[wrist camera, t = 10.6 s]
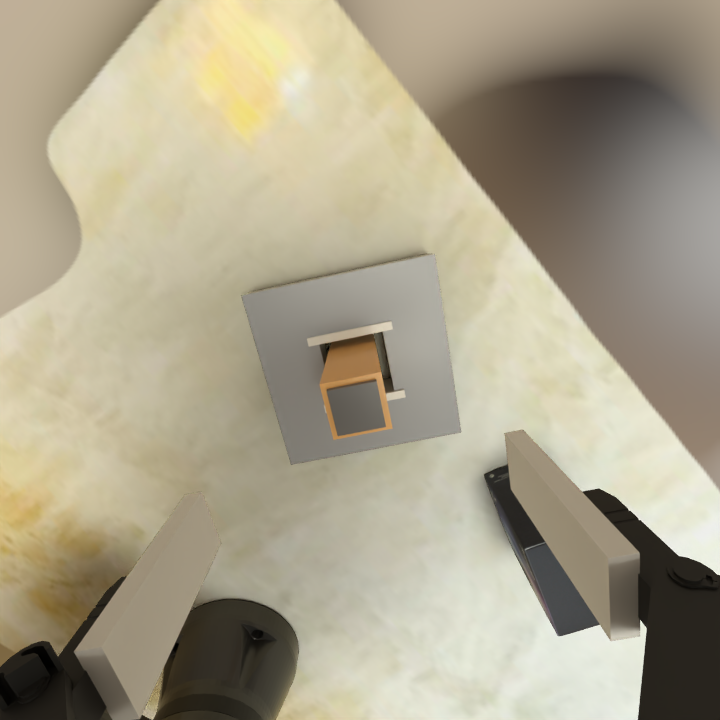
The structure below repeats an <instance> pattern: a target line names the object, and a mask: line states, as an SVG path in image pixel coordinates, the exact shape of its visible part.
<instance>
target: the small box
mask: <svg viewBox="0 0 720 720" xmlns="http://www.w3.org/2000/svg"><path fill="white" fill-rule="evenodd" d="M485 479H486V482H487V485H488V487H489V490H490V493H491V496H492V498H493V501H494V504H495V506H496V509H497V511H498V514H499V517H500V519H501V522H502V524H503V527H504V529H505V532H506V534H507V537H508V539H509V542H510V544H511V546H512V549H513V551H514V553H515V555H516V557H517V559H518V561H519V563H520V565H521V567H522V569H523V571H524V573H525V575H526V577H527V579H528V581H529V583H530V585H531V587H532V589H533V591H534V592H535V594H536V596H537V598H538V600H539V602H540V604H541V606H542V608H543V610H544V611H545V613H546V615H547V617H548V619H549V621H550V622H551V624H552V626H553V628H554V629H555V631H556V633H557V635H558V636H563V635H567V634H570V633H573V632H577V631H580V630H584V629H586V628H590V627H593V626H596V625H600V624H599V622H598V621H597V619H596V618H595V616H594V615H593V613H592V612H591V610H590V609H589V607H588V606H587V604H586V603H585V601H584V600H583V598H582V597H581V595H580V594H579V592H578V590H577V589H576V587H575V586H574V584H573V583H572V581H571V580H570V578H569V577H568V575H567V574H566V572H565V571H564V569H563V568H562V566H561V565H560V563H559V562H558V560H557V559H556V557H555V556H554V554H553V553H552V551H551V549H550V548H549V546H548V545H547V543H546V542H545V540H544V539H543V537H542V536H541V534H540V533H539V531H538V530H537V528H536V527H535V525H534V524H533V522H532V521H531V519H530V518H529V516H528V515H527V513H526V511H525V510H524V508H523V507H522V505H521V504H520V502H519V501H518V499H517V498H516V496H515V495H514V493H513V492H512V490H511V486H510V477H509V468H508V466H506V467H503V468H499V469H497V470H495V471H492V472H490V473H487V474H485Z"/></svg>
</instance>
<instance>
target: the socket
mask: <svg viewBox="0 0 720 720" xmlns="http://www.w3.org/2000/svg"><path fill="white" fill-rule="evenodd" d="M241 296H242V300H243V303H244V307H245V310H246V313H247V317H248V320H249V323H250V327H251V330H252V334H253V337H254V340H255V344H256V347H257V351H258V354H259V357H260V361H261V364H262V368H263V371H264V374H265V378H266V381H267V385H268V388H269V391H270V395H271V398H272V401H273V405H274V408H275V412H276V415H277V418H278V422H279V425H280V429H281V432H282V435H283V439H284V442H285V446H286V449H287V452H288V456H289V459H290V462H291V465H293V464H298V463H303V462H309V461H314V460H319V459H324V458H329V457H335V456H340V455H345V454H350V453H356V452H361V451H366V450H371V449H377V448H382V447H387V446H392V445H398V444H403V443H408V442H413V441H418V440H424V439H429V438H434V437H439V436H445V435H450V434H455V433H460V432H461V427H460V420H459V414H458V407H457V400H456V393H455V386H454V379H453V373H452V366H451V359H450V352H449V345H448V339H447V332H446V325H445V318H444V311H443V305H442V298H441V291H440V284H439V277H438V271H437V264H436V257H435V254H423V255H419V256H414V257H410V258H405V259H400V260H396V261H391V262H386V263H382V264H377V265H372V266H368V267H363V268H358V269H354V270H349V271H344V272H340V273H335V274H331V275H326V276H321V277H317V278H312V279H307V280H303V281H298V282H293V283H289V284H284V285H279V286H275V287H270V288H266V289H261V290H256V291H252V292H249V293H247V294H244V295H241ZM378 332H382V335H383V340H384V345H385V351H386V356H387V361H388V366H389V371H390V376H391V378H388V379H383V383H384V388H385V393H386V398H387V403H388V408H389V413H390V418H391V423H392V427H393V429H388V430H382V431H377V432H372V433H367V434H362V435H357V436H351V437H346V438H341V439H336V440H333V436H332V432H331V428H330V424H329V420H328V416H327V412H326V409H325V405H324V401H323V397H322V393H321V389H320V385H319V384H320V380H321V377H322V373H323V370H324V366H325V363H326V359H327V356H328V355H327V351H326V347H325V343H329V342H334V341H339V340H344V339H349V338H354V337H358V336H363V335H368V334H373V333H378Z"/></svg>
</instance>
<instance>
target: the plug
mask: <svg viewBox="0 0 720 720" xmlns="http://www.w3.org/2000/svg"><path fill="white" fill-rule="evenodd" d="M319 385H320V389H321V393H322V397H323V401H324V405H325V409H326V412H327V416H328V420H329V424H330V428H331V432H332V436H333V440H336V439H341V438H346V437H351V436H357V435H362V434H367V433H372V432H377V431H382V430H388V429H393V427H392V423H391V418H390V413H389V408H388V403H387V398H386V393H385V388H384V383H383V378H382V373H381V368H380V363H379V359H378V354H377V349H376V344H375V339H374V334H368V335H363V336H358V337H354V338H349V339H344V340H339V341H334V342H331V345H330V348H329V352H328V356H327V359H326V363H325V366H324V370H323V373H322V377H321V380H320V384H319Z"/></svg>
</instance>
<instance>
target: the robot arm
mask: <svg viewBox="0 0 720 720" xmlns="http://www.w3.org/2000/svg"><path fill="white" fill-rule="evenodd" d="M505 442H506V451H507V460H508V468H509V477H510V486H511V490H512V492H513V493H514V495H515V496H516V498H517V499H518V501H519V502H520V504H521V505H522V507H523V508H524V510H525V511H526V513H527V515H528V516H529V518H530V519H531V521H532V522H533V524H534V525H535V527H536V528H537V530H538V531H539V533H540V534H541V536H542V537H543V539H544V540H545V542H546V543H547V545H548V546H549V548H550V549H551V551H552V553H553V554H554V556H555V557H556V559H557V560H558V562H559V563H560V565H561V566H562V568H563V569H564V571H565V572H566V574H567V575H568V577H569V578H570V580H571V581H572V583H573V584H574V586H575V587H576V589H577V590H578V592H579V594H580V595H581V597H582V598H583V600H584V601H585V603H586V604H587V606H588V607H589V609H590V610H591V612H592V613H593V615H594V616H595V618H596V619H597V621H598V622H599V624H600V625H601V627H602V628H603V630H604V632H605V633H606V635H607V636H608V638H609V639H610V641H615V640H621V639H627V638H633V637H639V636H640V620H641V621H642V623H643V624H644V625H645V626H646V628H647V633H646V644H645V654H644V664H643V674H642V684H641V694H640V705H639V715H638V720H720V575H717V574H716V573H715V572H714V571H713V570H711V569H710V568H708V567H707V566H705V565H703V564H702V563H700V562H697V561H695V560H692V559H689V558H686V557H680V556H678V555H677V554H676V553H675V552H674V551H673V550H671V549H670V548H669V547H668V546H667V545H666V544H665V543H664V542H663V541H662V540H661V539H660V538H659V537H658V536H657V535H655V534H654V533H653V532H652V531H651V530H650V529H649V528H648V527H647V526H646V525H645V524H644V523H643V522H642V521H641V520H638V518H637V517H636V516H635V515H634V514H633V513H632V512H631V511H629V510H628V508H627V507H626V506H625V505H623V504H622V503H621V502H620V501H619V500H618V499H617V498H616V497H614V496H612V495H610V494H609V493H607V492H605V491H603V490H601V489H594V490H589V491H583V492H582V491H581V490H580V489H579V488H578V487H577V486H576V485H575V484H574V483H573V482H572V481H571V480H570V479H569V478H568V477H567V476H566V475H565V473H564V472H563V471H562V470H561V469H560V468H559V467H558V466H557V465H556V464H555V463H554V462H553V461H552V460H551V459H550V458H549V457H548V456H547V454H546V453H545V452H544V451H543V450H542V449H541V448H540V447H539V446H538V445H537V444H536V443H535V442H534V441H533V440H532V439H531V438H530V437H529V436H528V434H527V433H526V432H525V431H524V430H518V431H513V432H508V433H505ZM220 545H221V541H220V538H219V535H218V533H217V530H216V527H215V525H214V522H213V519H212V517H211V514H210V512H209V509H208V506H207V504H206V501H205V498H204V496H203V493H202V491H201V492H196V493H191V494H186V495H184V497H183V498H182V499H181V501H180V502H179V504H178V505H177V507H176V508H175V509H174V511H173V512H172V514H171V515H170V516H169V518H168V519H167V521H166V522H165V524H164V525H163V526H162V528H161V529H160V531H159V532H158V533H157V535H156V536H155V538H154V539H153V540H152V542H151V543H150V545H149V546H148V548H147V549H146V550H145V552H144V553H143V555H142V556H141V557H140V559H139V560H138V562H137V563H136V565H135V566H134V567H133V569H132V570H131V572H130V573H129V574H128V576H126V577H121V578H120V579H119V580H118V581H117V582H116V583H115V584H114V585H113V586H112V587H110V588H109V589H108V590H107V591H106V593H105V594H104V595H103V597H102V598H101V599H100V601H99V602H98V603H97V605H96V608H94V609H93V610H92V612H91V613H90V614H89V616H88V617H87V620H85V621H84V622H83V624H82V625H81V627H80V628H79V629H78V631H77V632H76V633H75V635H74V636H73V637H72V639H71V640H70V641H69V643H68V644H67V646H66V647H65V648H64V650H63V651H62V652H61V654H60V655H59V656H57V655H56V653H55V651H54V649H53V648H52V646H51V644H50V643H49V642H46V641H41V642H37V643H34V644H31V645H30V646H28V647H26V648H24V649H22V650H20V651H19V652H18V653H16V654H15V655H13V656H12V657H11V658H9V659H8V660H7V661H6V662H5V663H4V664H3V665H2V666H1V667H0V720H151V719H149V718H147V717H145V716H143V715H142V713H143V711H144V709H145V707H146V705H147V702H148V700H149V698H150V696H151V694H152V692H153V690H154V687H155V685H156V683H157V681H158V679H159V677H160V674H161V672H162V670H163V668H164V671H163V678H162V684H161V690H160V697H159V703H158V709H157V712H156V715H155V717H154V720H276V718H277V716H278V714H279V711H280V709H281V707H282V705H283V703H284V700H285V698H286V696H287V694H288V691H289V689H290V687H291V685H292V683H293V680H294V677H295V673H296V667H297V660H298V653H299V647H298V641H297V638H296V635H295V633H294V631H293V630H292V628H291V627H290V625H289V624H288V623H287V622H286V621H285V620H284V619H283V618H282V617H281V616H279V615H278V614H277V613H275V612H274V611H272V610H270V609H268V608H266V607H264V606H261V605H259V604H256V603H252V602H247V601H241V600H222V601H215V602H211V603H208V604H205V605H202V606H200V607H198V608H196V609H194V610H193V611H191V612H190V610H191V607H192V605H193V603H194V601H195V599H196V597H197V595H198V592H199V590H200V588H201V586H202V584H203V582H204V579H205V577H206V575H207V573H208V571H209V569H210V566H211V564H212V562H213V560H214V558H215V556H216V553H217V551H218V549H219V547H220ZM189 612H190V613H189Z"/></svg>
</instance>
